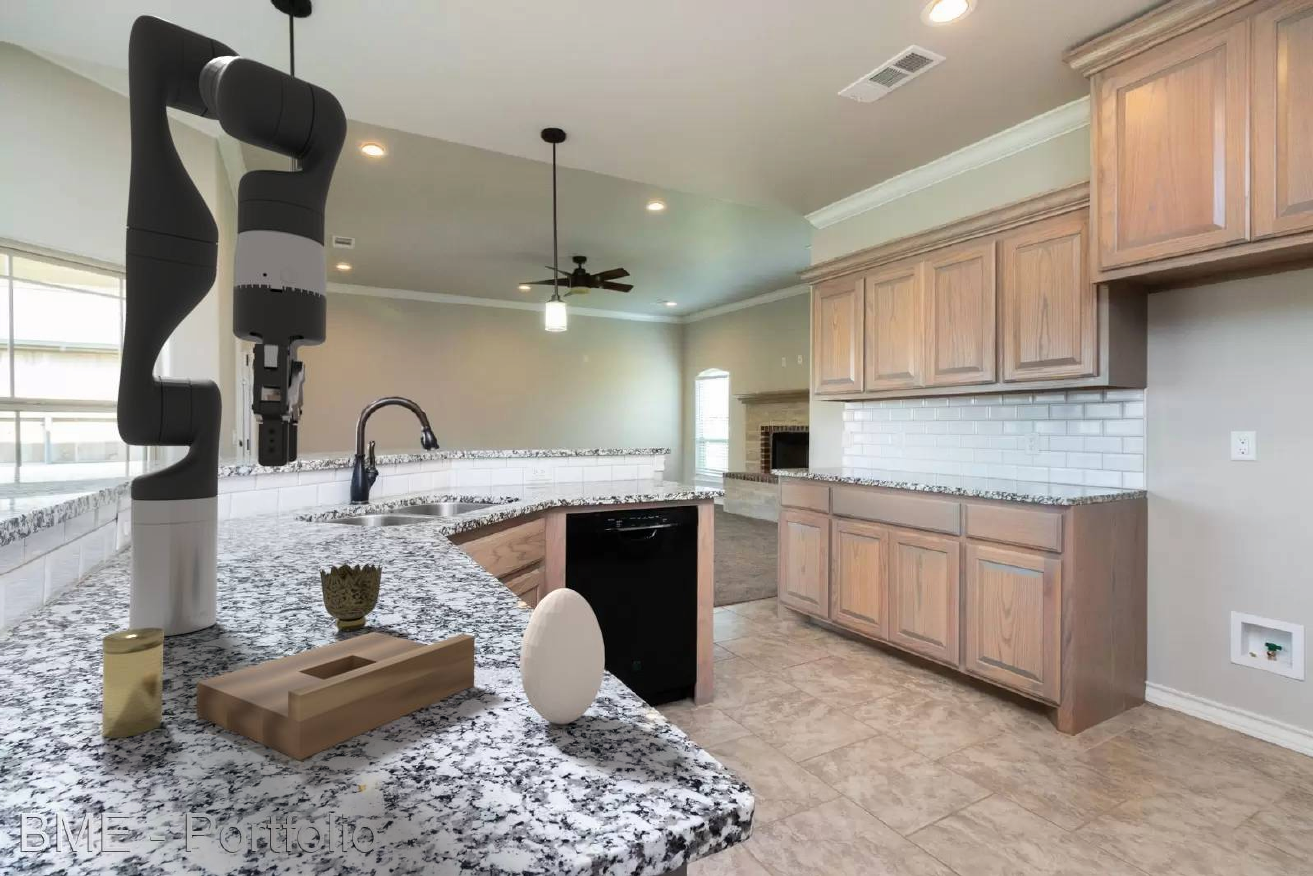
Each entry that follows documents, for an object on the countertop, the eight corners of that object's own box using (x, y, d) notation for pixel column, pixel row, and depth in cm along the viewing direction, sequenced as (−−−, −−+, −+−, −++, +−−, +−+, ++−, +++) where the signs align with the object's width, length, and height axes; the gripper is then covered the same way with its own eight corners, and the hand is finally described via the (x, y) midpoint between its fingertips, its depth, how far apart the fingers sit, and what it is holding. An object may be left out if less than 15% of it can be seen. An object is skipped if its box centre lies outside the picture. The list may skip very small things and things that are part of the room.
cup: (357, 638, 81) (357, 575, 81) (306, 635, 82) (306, 572, 82) (393, 622, 88) (393, 564, 88) (345, 619, 89) (346, 562, 90)
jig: (196, 715, 58) (197, 659, 58) (373, 658, 73) (374, 614, 73) (299, 760, 50) (299, 695, 50) (474, 685, 65) (474, 636, 65)
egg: (557, 749, 52) (558, 603, 52) (502, 723, 56) (503, 589, 57) (621, 719, 57) (622, 588, 57) (566, 698, 62) (566, 576, 62)
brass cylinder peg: (92, 731, 55) (94, 636, 55) (150, 713, 58) (151, 625, 58) (113, 742, 53) (114, 644, 53) (171, 723, 56) (172, 632, 56)
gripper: (246, 300, 65) (244, 461, 65) (217, 267, 52) (215, 468, 52) (330, 308, 68) (327, 461, 68) (322, 278, 55) (319, 467, 55)
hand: (279, 464), depth 60 cm, fingers open, 8 cm apart
